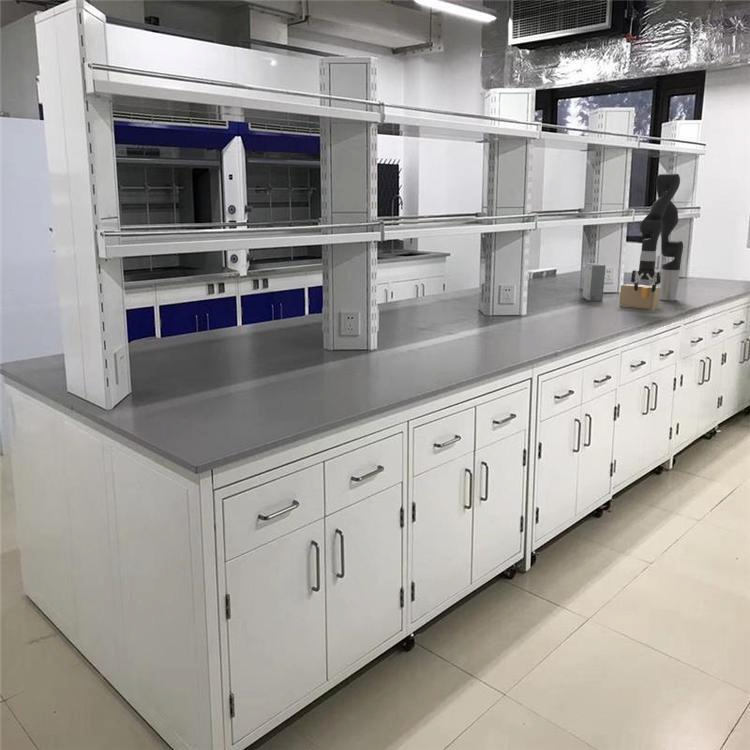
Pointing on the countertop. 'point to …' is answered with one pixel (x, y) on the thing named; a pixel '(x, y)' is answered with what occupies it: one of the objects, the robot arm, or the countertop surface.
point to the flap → (636, 296)
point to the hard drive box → (593, 281)
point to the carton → (654, 297)
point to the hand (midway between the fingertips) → (644, 291)
